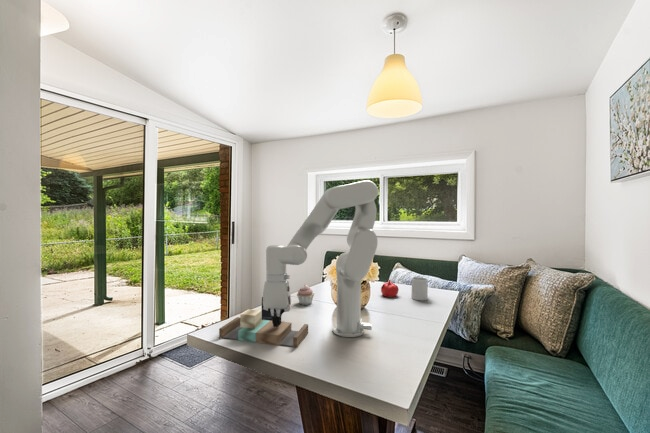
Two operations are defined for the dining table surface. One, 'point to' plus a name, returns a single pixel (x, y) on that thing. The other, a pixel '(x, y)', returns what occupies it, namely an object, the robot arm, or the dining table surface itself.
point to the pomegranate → (389, 289)
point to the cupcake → (305, 295)
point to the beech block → (251, 318)
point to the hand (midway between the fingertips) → (276, 325)
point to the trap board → (264, 333)
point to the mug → (419, 288)
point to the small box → (266, 313)
